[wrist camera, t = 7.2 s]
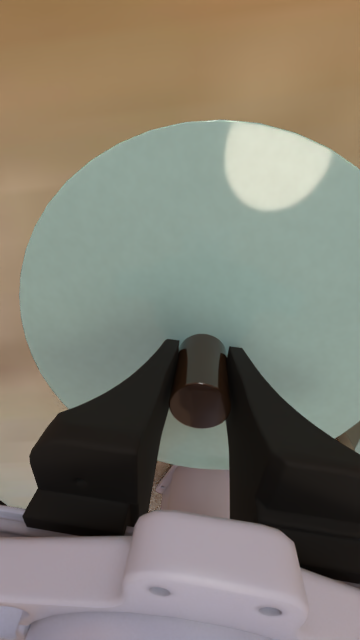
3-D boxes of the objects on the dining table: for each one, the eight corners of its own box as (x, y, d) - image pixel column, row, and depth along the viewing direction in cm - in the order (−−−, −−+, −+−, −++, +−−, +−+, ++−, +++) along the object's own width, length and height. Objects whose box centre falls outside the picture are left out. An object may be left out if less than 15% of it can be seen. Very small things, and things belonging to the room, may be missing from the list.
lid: (450, 390, 14) (554, 479, 10) (168, 481, 20) (157, 557, 16) (294, -34, 8) (392, -294, 3) (-36, 295, 14) (-137, 340, 10)
